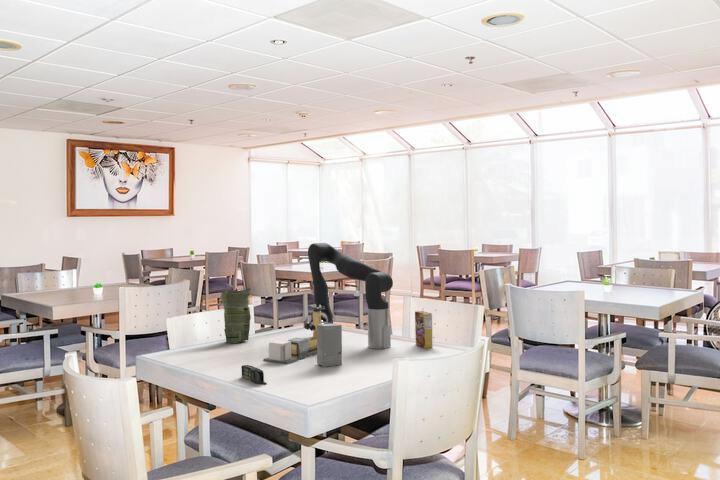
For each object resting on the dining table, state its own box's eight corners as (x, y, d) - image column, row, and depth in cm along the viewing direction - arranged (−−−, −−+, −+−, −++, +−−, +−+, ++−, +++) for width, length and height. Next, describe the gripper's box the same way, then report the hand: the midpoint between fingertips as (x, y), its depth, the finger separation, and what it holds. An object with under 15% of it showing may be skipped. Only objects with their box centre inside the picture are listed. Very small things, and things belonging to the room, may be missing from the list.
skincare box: (323, 367, 231) (322, 326, 230) (316, 363, 237) (315, 323, 237) (343, 364, 235) (342, 324, 234) (335, 361, 241) (335, 321, 241)
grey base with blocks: (310, 346, 271) (309, 331, 271) (332, 348, 265) (332, 334, 265) (263, 360, 243) (263, 344, 243) (287, 364, 237) (287, 347, 237)
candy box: (414, 344, 272) (414, 311, 272) (423, 343, 274) (422, 310, 273) (424, 348, 264) (424, 313, 264) (432, 347, 266) (432, 313, 265)
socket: (277, 356, 247) (277, 339, 247) (291, 358, 243) (291, 341, 243) (269, 359, 242) (268, 342, 242) (282, 361, 239) (282, 344, 239)
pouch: (219, 342, 281) (218, 289, 280) (234, 338, 292) (233, 286, 291) (239, 344, 276) (239, 290, 276) (254, 339, 287) (253, 287, 287)
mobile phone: (239, 364, 217) (260, 371, 205) (247, 363, 219) (268, 370, 207) (240, 378, 217) (260, 386, 205) (247, 377, 219) (268, 384, 207)
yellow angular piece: (315, 345, 268) (315, 306, 268) (323, 346, 266) (322, 307, 266) (288, 353, 251) (288, 312, 250) (296, 354, 249) (295, 313, 248)
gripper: (304, 313, 279) (300, 319, 262) (334, 313, 279) (332, 319, 262) (304, 330, 280) (300, 337, 262) (334, 329, 280) (332, 336, 262)
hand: (316, 328), depth 262 cm, fingers closed on yellow angular piece, 3 cm apart
